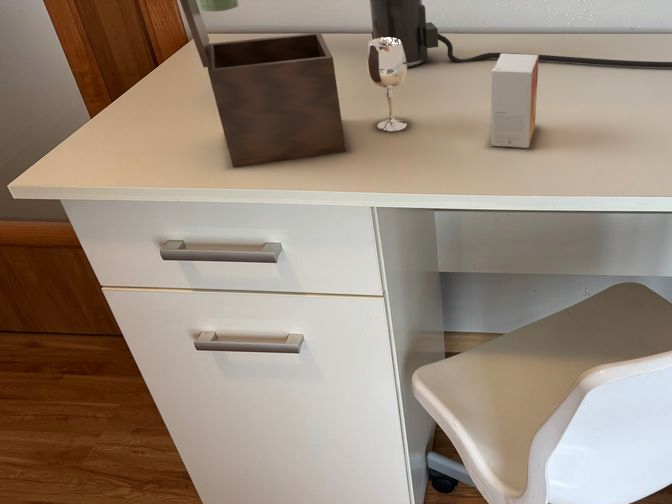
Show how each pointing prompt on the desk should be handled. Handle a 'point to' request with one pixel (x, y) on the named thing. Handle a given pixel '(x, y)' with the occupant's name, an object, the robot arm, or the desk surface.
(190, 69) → the desk surface
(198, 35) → the chest lid
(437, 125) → the desk surface
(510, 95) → the small box
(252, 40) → the chest
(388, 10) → the robot arm
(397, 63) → the wineglass
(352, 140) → the desk surface
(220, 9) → the canister
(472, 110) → the desk surface
